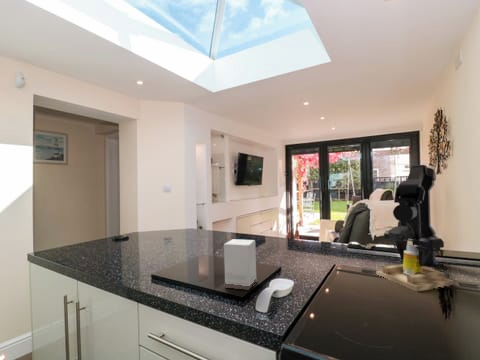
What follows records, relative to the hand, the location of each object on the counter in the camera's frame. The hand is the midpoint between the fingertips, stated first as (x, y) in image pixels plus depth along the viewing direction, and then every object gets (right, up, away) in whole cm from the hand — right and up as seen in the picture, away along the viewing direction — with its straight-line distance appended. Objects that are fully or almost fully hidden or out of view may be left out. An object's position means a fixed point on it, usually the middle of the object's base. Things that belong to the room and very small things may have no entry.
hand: (412, 262), depth 90 cm
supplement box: (-61, -7, -2) cm, 61 cm away
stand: (0, -6, 0) cm, 6 cm away
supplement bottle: (0, -5, 0) cm, 5 cm away
